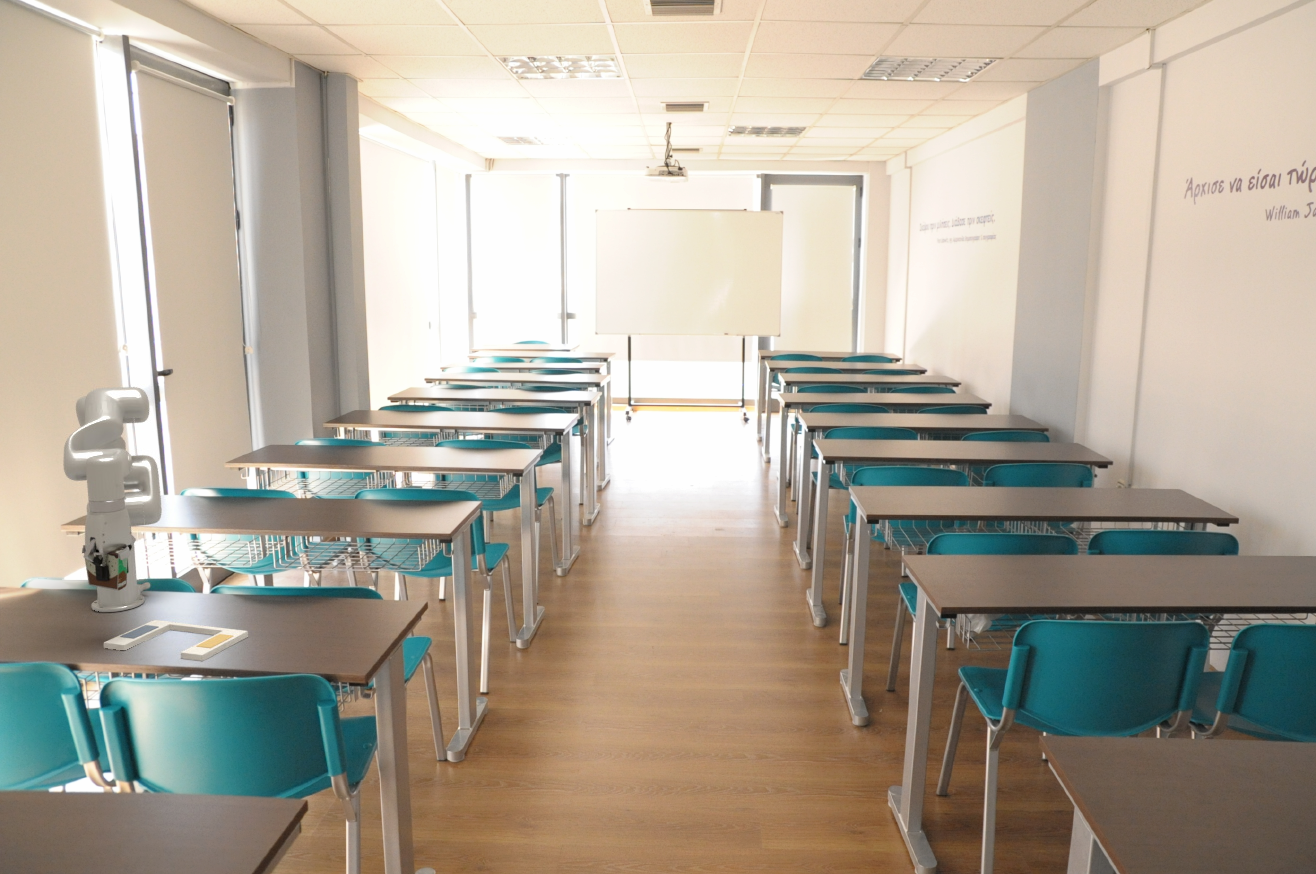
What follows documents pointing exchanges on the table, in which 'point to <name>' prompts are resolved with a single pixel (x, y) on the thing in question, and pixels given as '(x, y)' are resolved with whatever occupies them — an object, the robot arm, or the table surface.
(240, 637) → the label board
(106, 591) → the robot arm
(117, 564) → the food container
